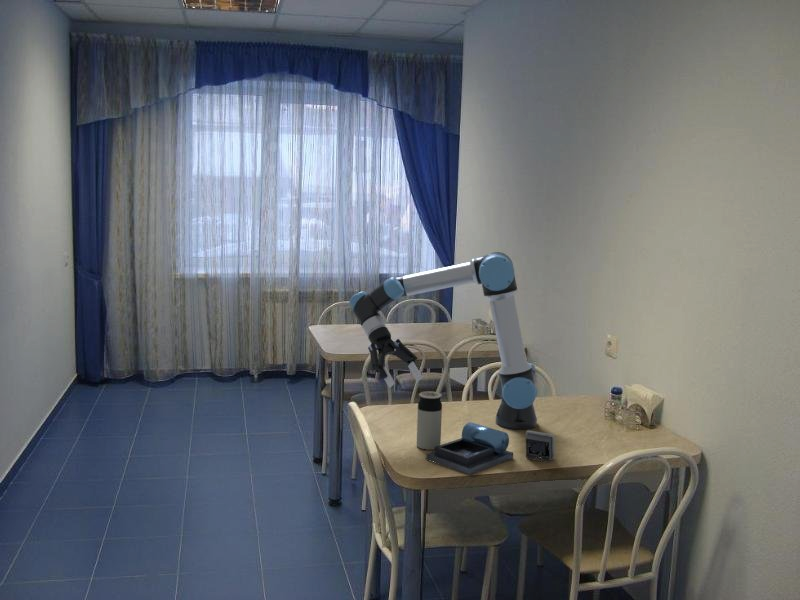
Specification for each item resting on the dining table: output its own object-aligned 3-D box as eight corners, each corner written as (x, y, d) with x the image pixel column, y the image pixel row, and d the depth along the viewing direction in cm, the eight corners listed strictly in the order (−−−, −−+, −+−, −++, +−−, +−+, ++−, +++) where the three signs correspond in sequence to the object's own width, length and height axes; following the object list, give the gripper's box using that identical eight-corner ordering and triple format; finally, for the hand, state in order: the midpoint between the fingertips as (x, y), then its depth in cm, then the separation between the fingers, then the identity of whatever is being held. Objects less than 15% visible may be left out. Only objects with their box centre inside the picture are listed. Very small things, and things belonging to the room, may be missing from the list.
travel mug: (431, 452, 260) (433, 398, 258) (411, 446, 265) (413, 394, 263) (444, 446, 267) (447, 394, 264) (425, 441, 271) (427, 389, 269)
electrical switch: (555, 459, 258) (556, 432, 255) (551, 465, 253) (552, 438, 251) (526, 454, 261) (527, 428, 259) (522, 460, 257) (523, 433, 255)
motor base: (469, 444, 269) (470, 418, 268) (513, 458, 257) (514, 431, 255) (426, 459, 253) (427, 432, 252) (470, 475, 241) (471, 446, 240)
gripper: (396, 334, 290) (424, 382, 281) (345, 342, 272) (374, 394, 264) (407, 321, 285) (436, 370, 277) (356, 329, 267) (386, 381, 259)
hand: (406, 382), depth 270 cm, fingers open, 13 cm apart
